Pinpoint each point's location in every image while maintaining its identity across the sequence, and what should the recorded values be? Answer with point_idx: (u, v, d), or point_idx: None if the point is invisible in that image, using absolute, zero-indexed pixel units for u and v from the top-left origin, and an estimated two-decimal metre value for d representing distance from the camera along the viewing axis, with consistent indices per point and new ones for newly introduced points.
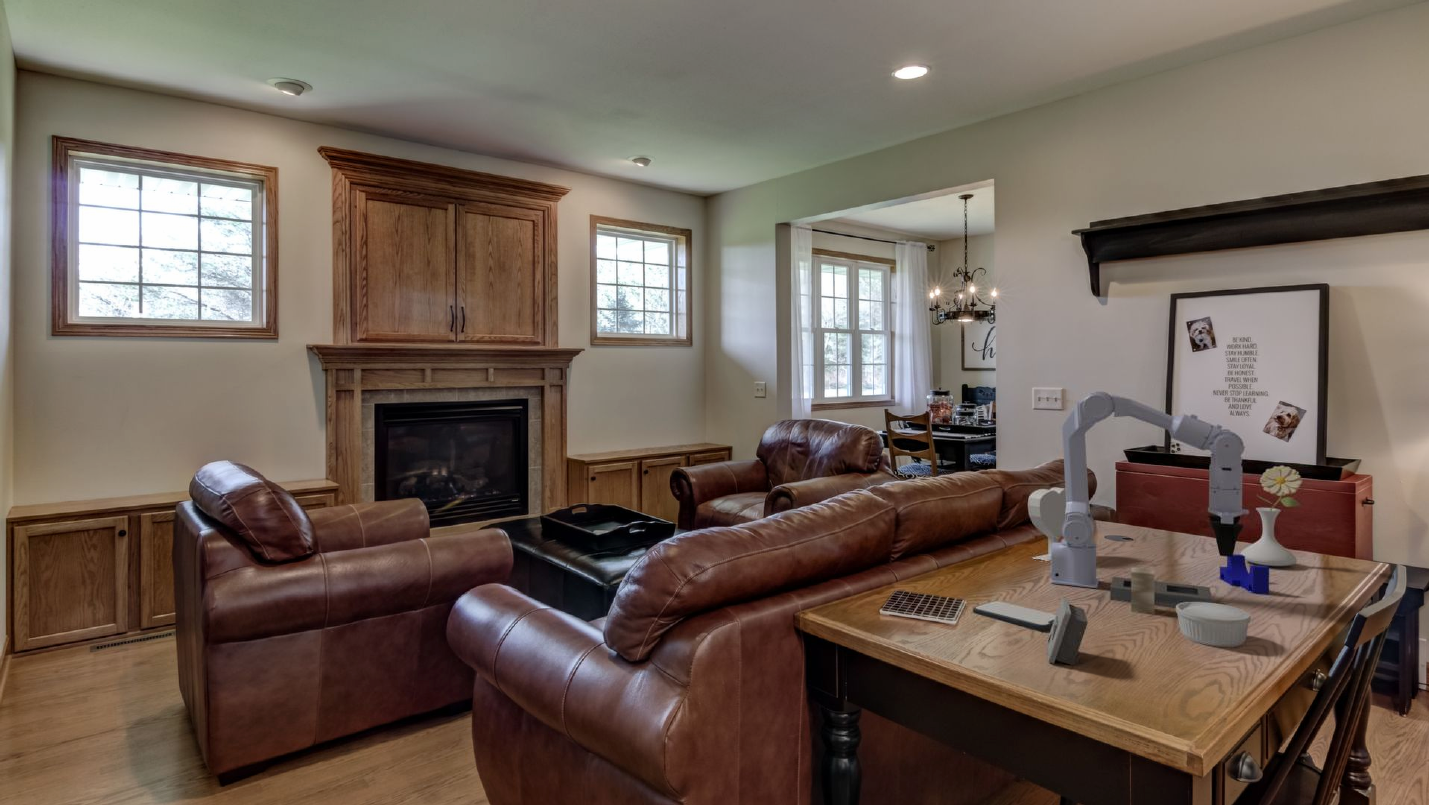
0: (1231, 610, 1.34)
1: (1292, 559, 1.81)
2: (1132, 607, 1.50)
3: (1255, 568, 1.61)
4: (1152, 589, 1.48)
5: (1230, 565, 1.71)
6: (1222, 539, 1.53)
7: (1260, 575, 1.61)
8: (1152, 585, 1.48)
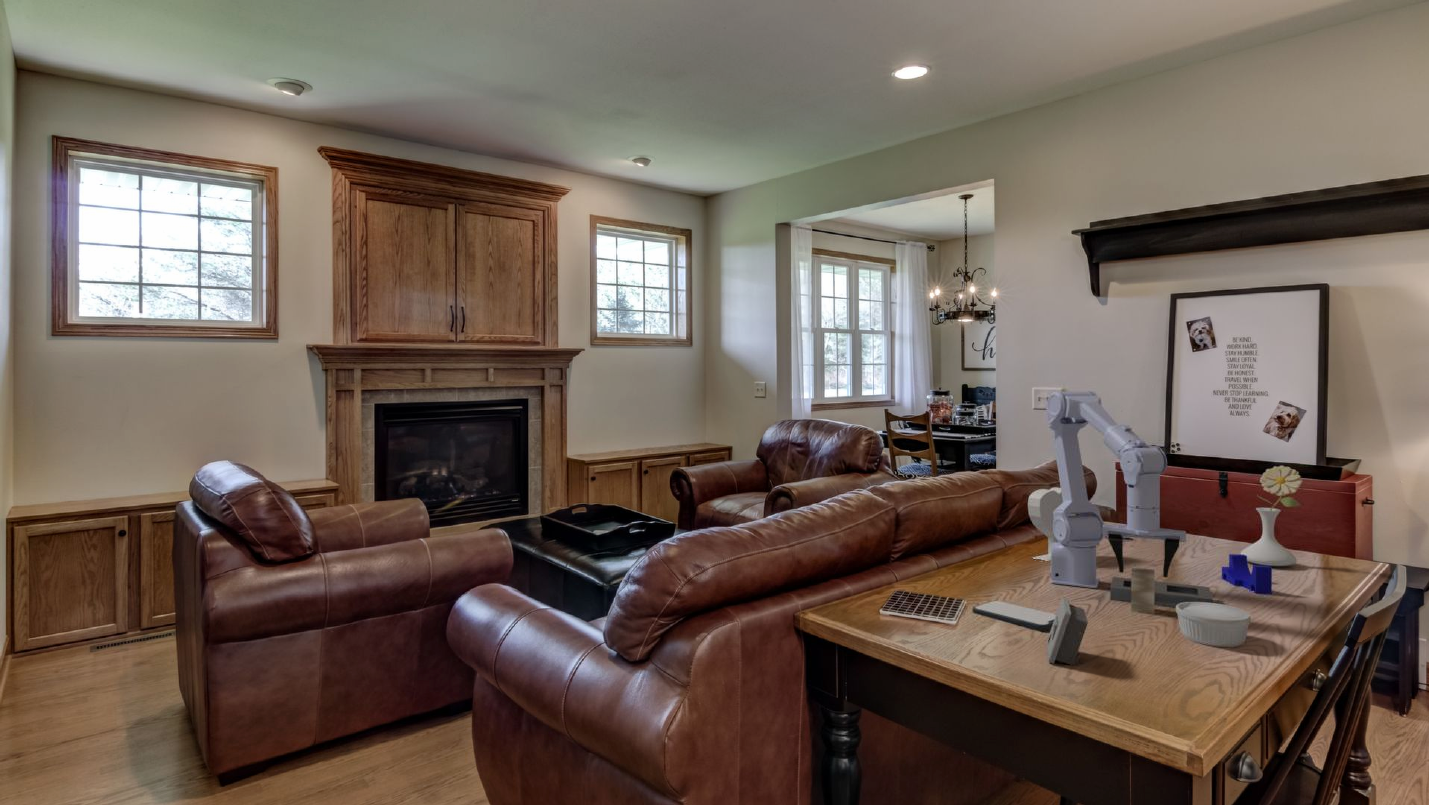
0: (1231, 610, 1.34)
1: (1292, 559, 1.81)
2: (1132, 607, 1.50)
3: (1258, 568, 1.61)
4: (1152, 589, 1.48)
5: (1232, 565, 1.71)
6: None
7: (1263, 575, 1.61)
8: (1152, 585, 1.48)
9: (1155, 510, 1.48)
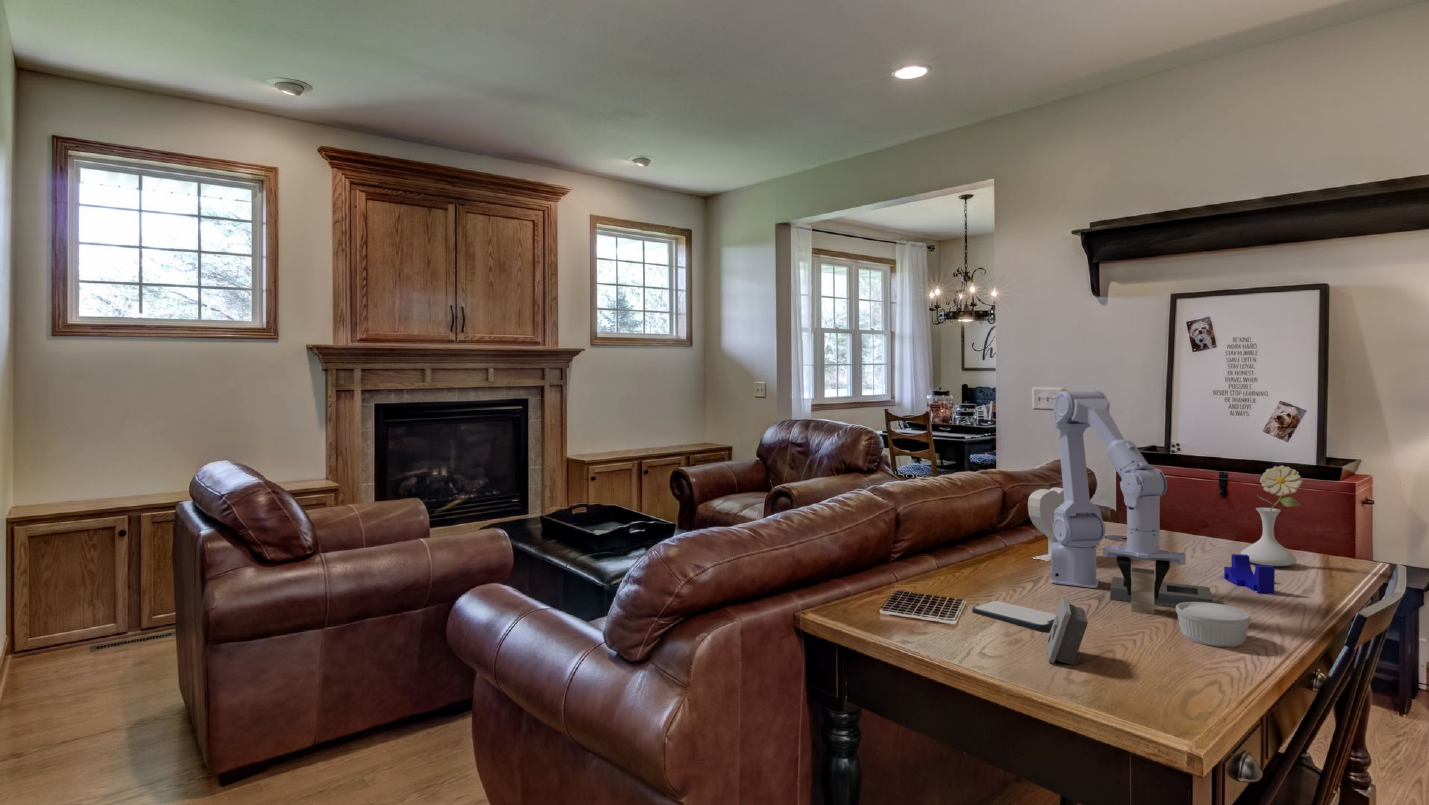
0: (1231, 610, 1.34)
1: (1292, 559, 1.81)
2: (1132, 607, 1.50)
3: (1261, 568, 1.61)
4: (1152, 589, 1.48)
5: (1235, 565, 1.71)
6: None
7: (1266, 575, 1.61)
8: (1152, 585, 1.48)
9: (1155, 532, 1.48)
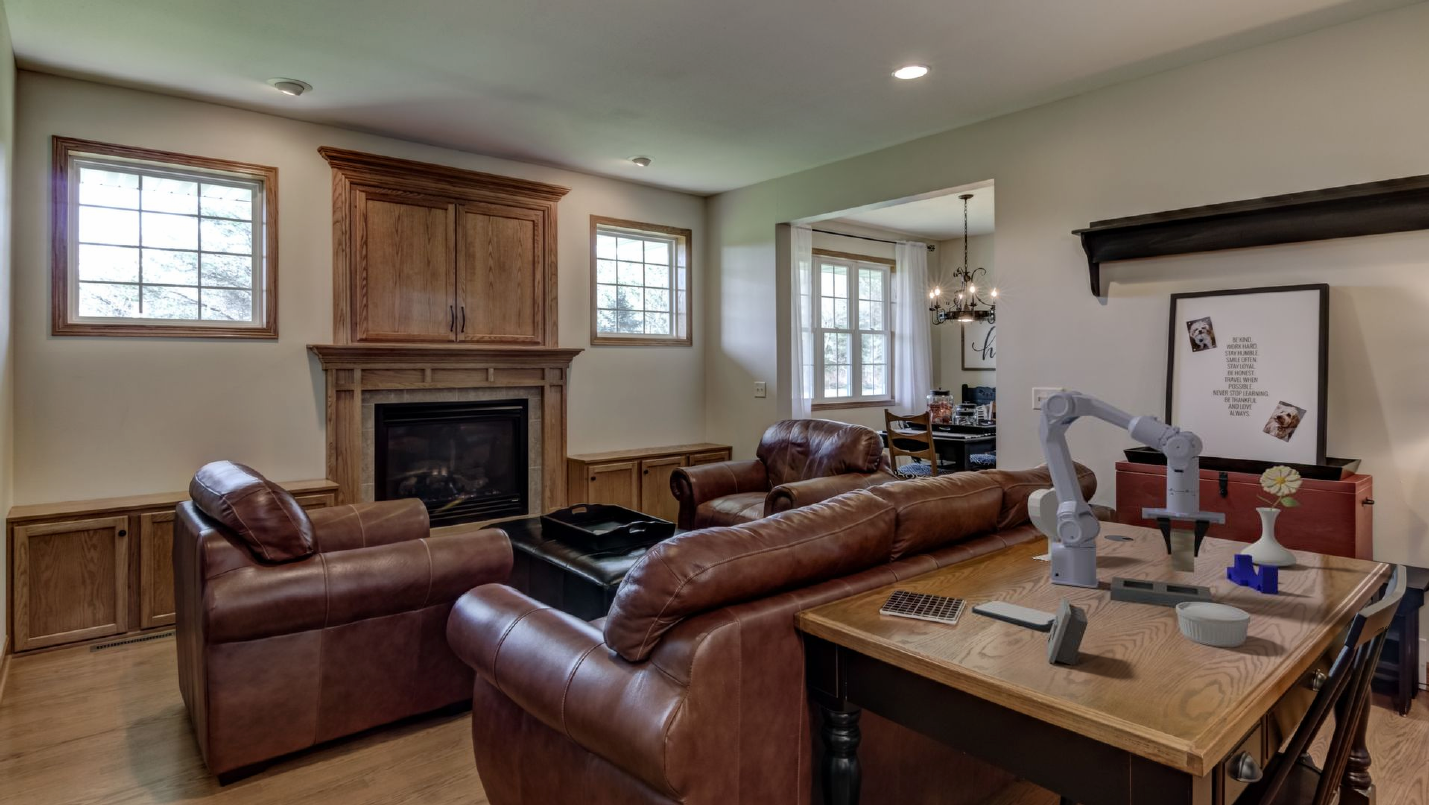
0: (1231, 610, 1.34)
1: (1292, 559, 1.81)
2: (1172, 566, 1.55)
3: (1264, 568, 1.61)
4: (1192, 548, 1.53)
5: (1237, 565, 1.71)
6: None
7: (1269, 575, 1.61)
8: (1192, 544, 1.53)
9: (1195, 493, 1.52)
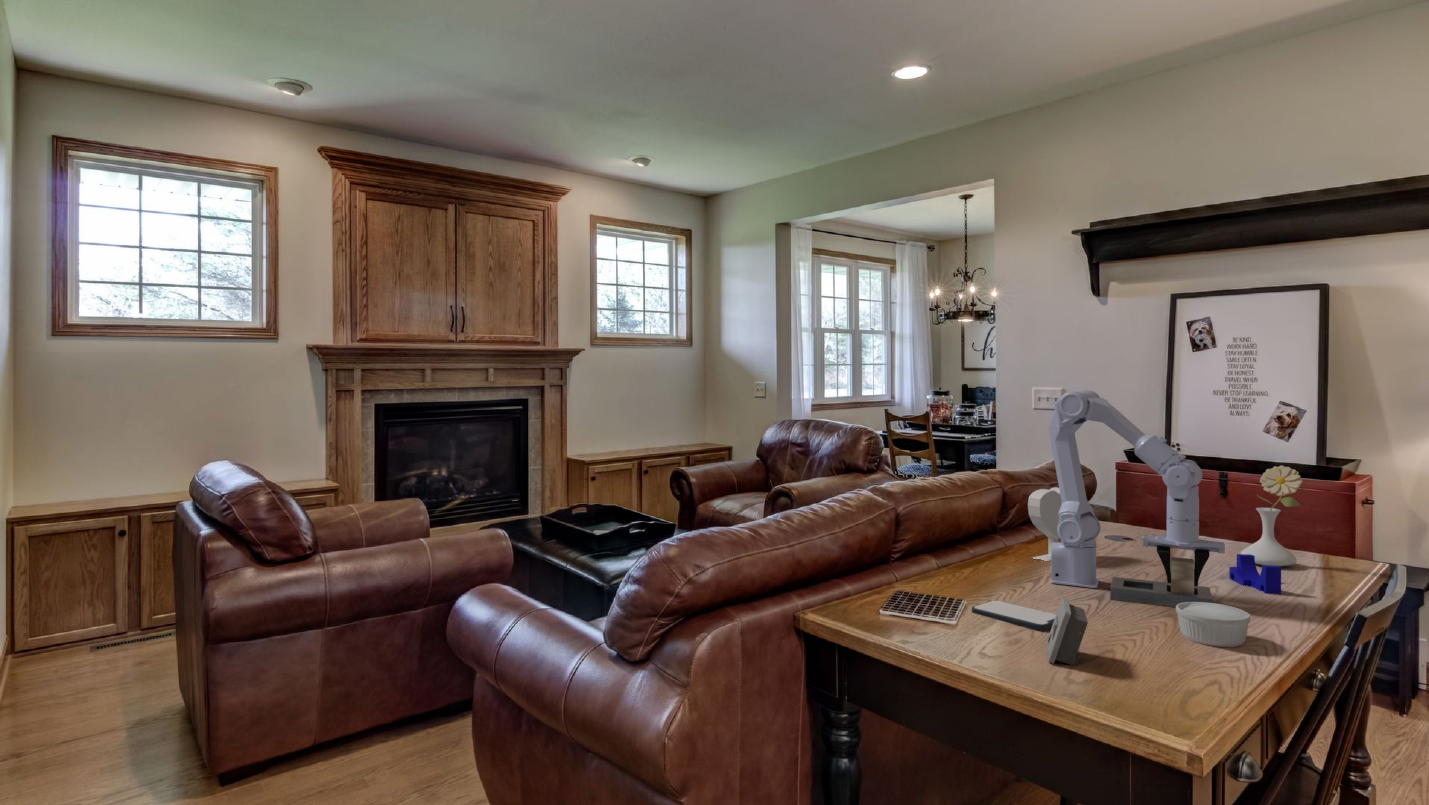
0: (1231, 610, 1.34)
1: (1292, 559, 1.81)
2: None
3: (1267, 568, 1.61)
4: (1192, 577, 1.53)
5: (1240, 565, 1.71)
6: None
7: (1272, 575, 1.61)
8: (1192, 573, 1.53)
9: (1195, 522, 1.53)
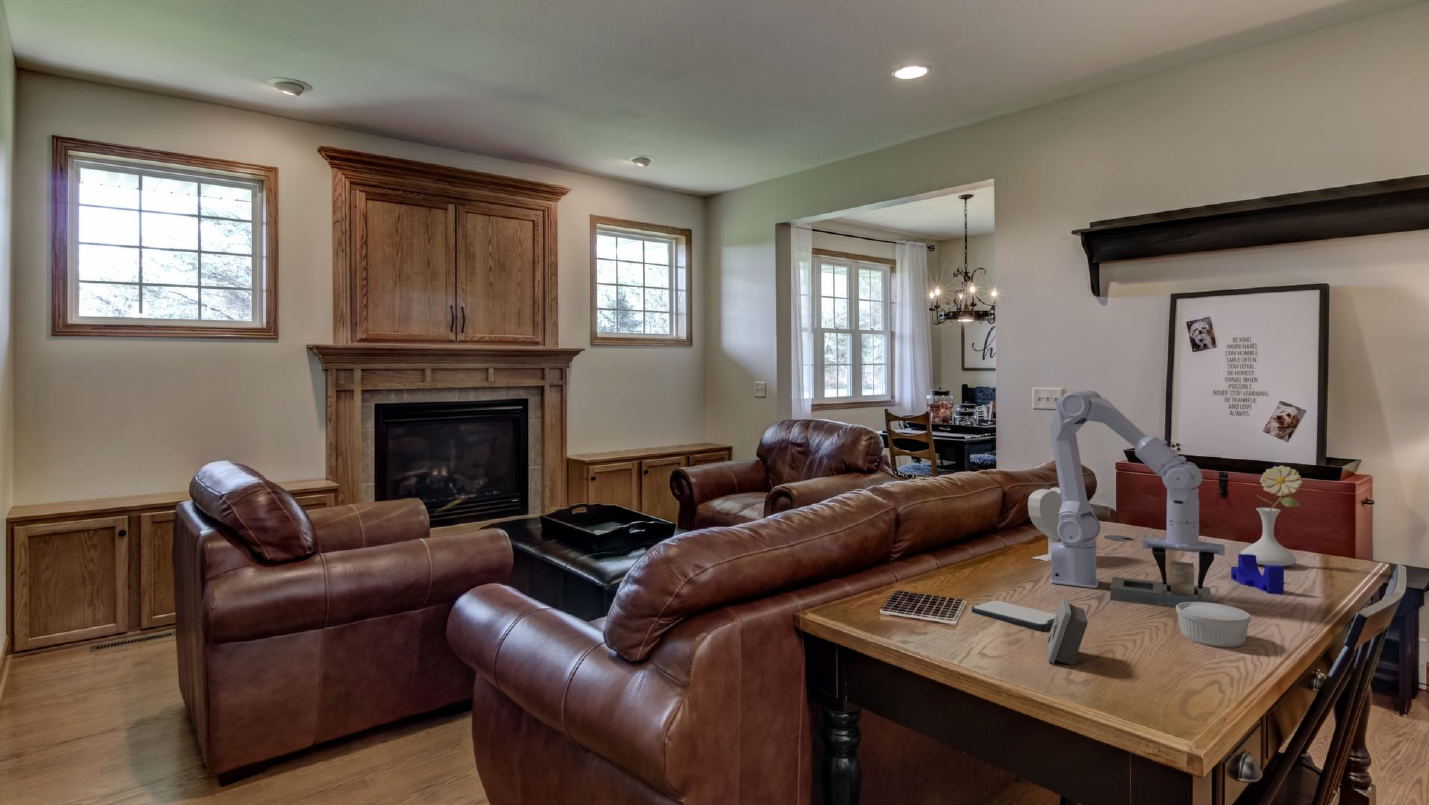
0: (1231, 610, 1.34)
1: (1292, 559, 1.81)
2: None
3: (1270, 568, 1.61)
4: (1192, 582, 1.53)
5: (1242, 565, 1.71)
6: None
7: (1275, 575, 1.61)
8: (1192, 578, 1.53)
9: (1195, 524, 1.53)
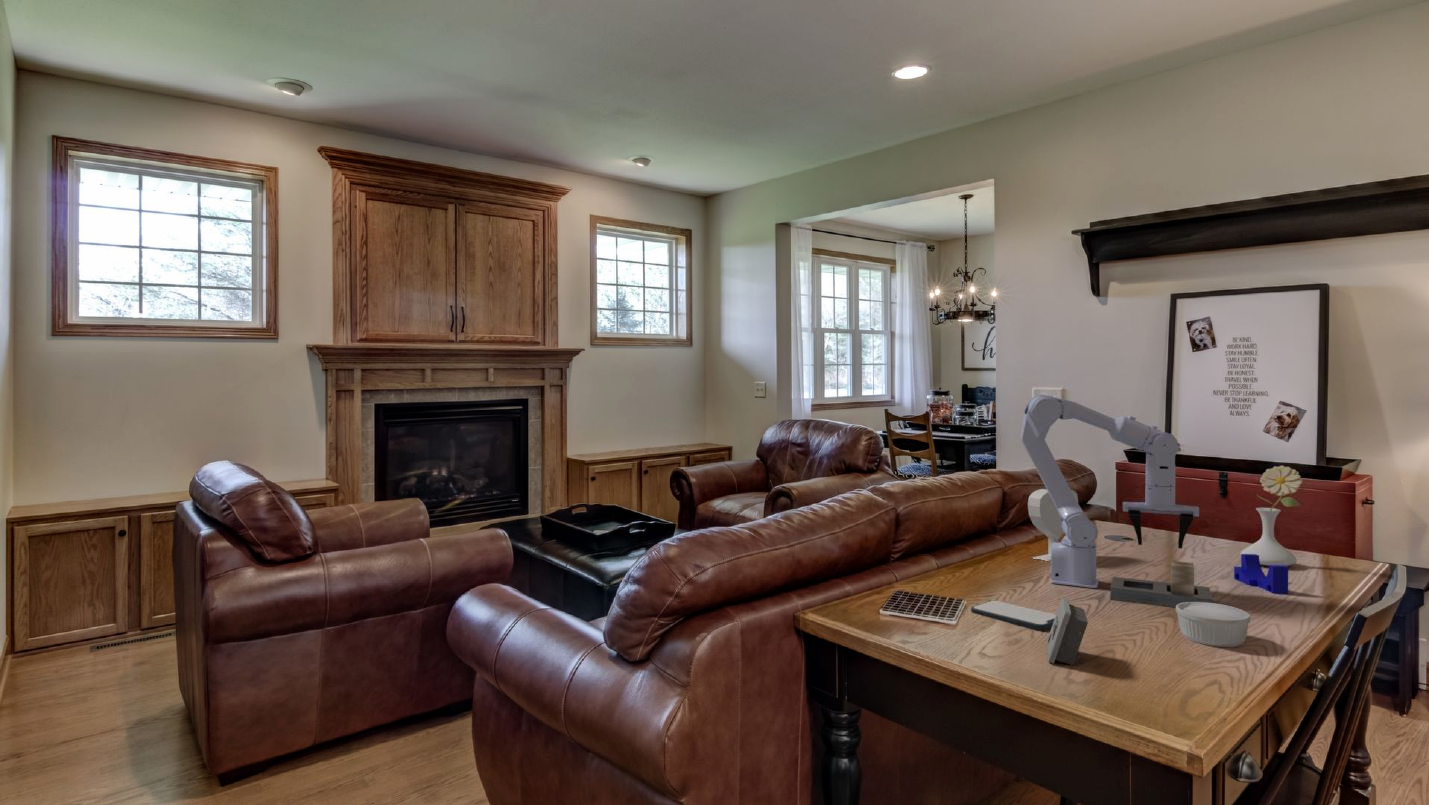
0: (1231, 610, 1.34)
1: (1292, 559, 1.81)
2: None
3: (1275, 568, 1.61)
4: (1192, 582, 1.53)
5: (1245, 565, 1.71)
6: None
7: (1280, 575, 1.61)
8: (1192, 578, 1.53)
9: (1171, 488, 1.63)
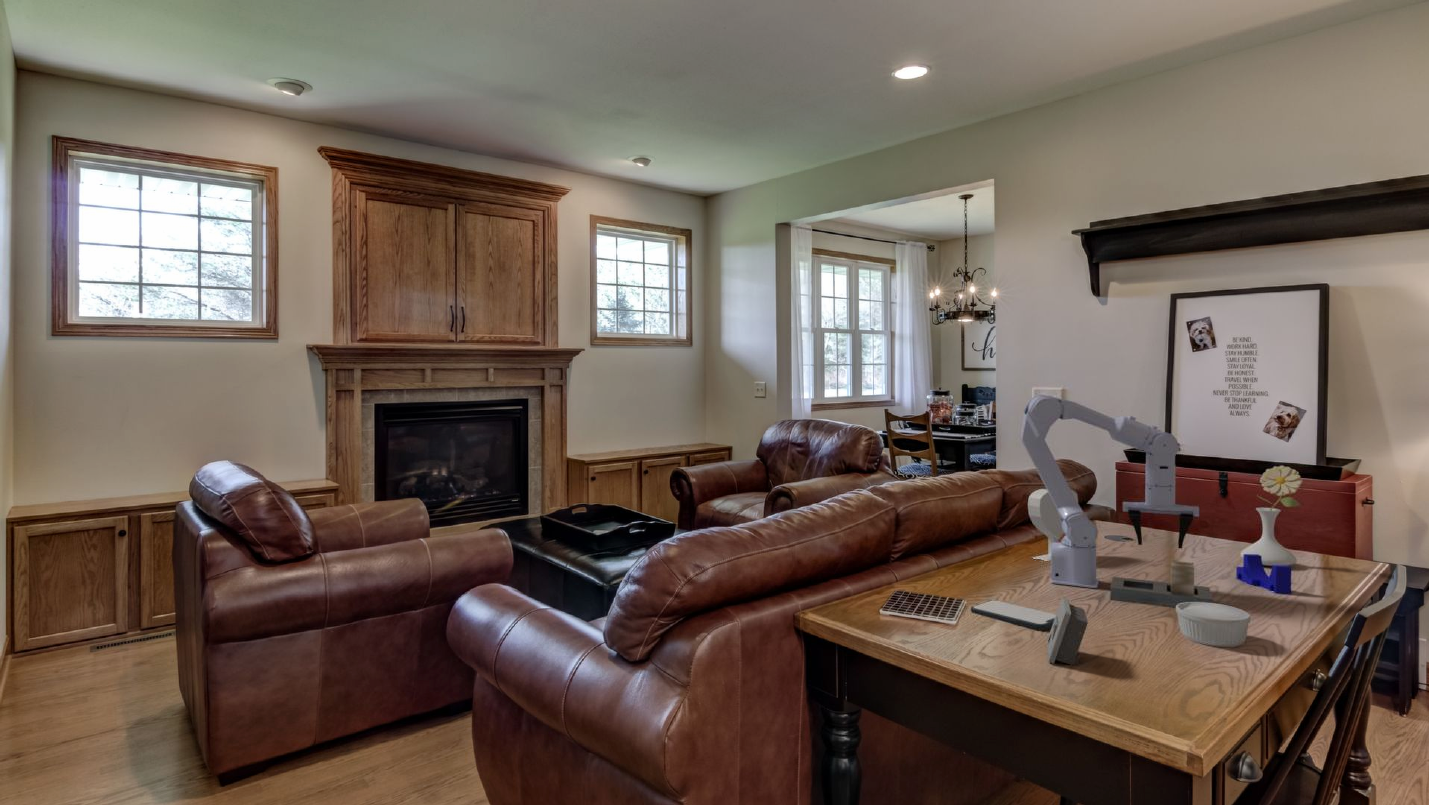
0: (1231, 610, 1.34)
1: (1292, 559, 1.81)
2: None
3: (1278, 568, 1.61)
4: (1192, 582, 1.53)
5: (1247, 565, 1.71)
6: None
7: (1283, 575, 1.61)
8: (1192, 578, 1.53)
9: (1171, 488, 1.63)
